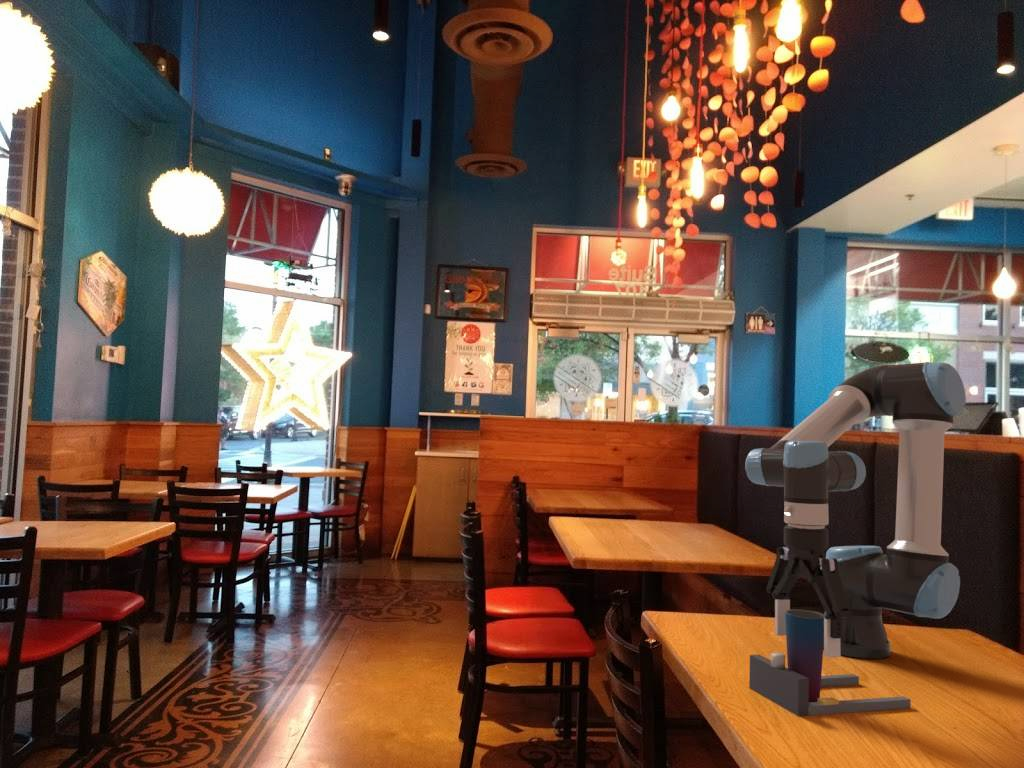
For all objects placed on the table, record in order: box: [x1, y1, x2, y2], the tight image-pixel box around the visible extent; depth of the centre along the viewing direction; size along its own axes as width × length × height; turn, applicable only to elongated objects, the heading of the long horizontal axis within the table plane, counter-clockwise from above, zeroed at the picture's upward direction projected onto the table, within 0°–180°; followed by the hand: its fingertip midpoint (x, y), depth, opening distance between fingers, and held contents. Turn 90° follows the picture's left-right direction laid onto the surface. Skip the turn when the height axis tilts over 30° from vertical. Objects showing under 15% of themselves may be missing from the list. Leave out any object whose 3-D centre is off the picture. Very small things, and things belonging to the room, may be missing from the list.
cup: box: [785, 608, 825, 703], centre depth 132 cm, size 7×7×15 cm
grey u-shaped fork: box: [749, 652, 912, 717], centre depth 133 cm, size 23×14×8 cm, turn 106°
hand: (806, 645), depth 132 cm, fingers open, 13 cm apart
